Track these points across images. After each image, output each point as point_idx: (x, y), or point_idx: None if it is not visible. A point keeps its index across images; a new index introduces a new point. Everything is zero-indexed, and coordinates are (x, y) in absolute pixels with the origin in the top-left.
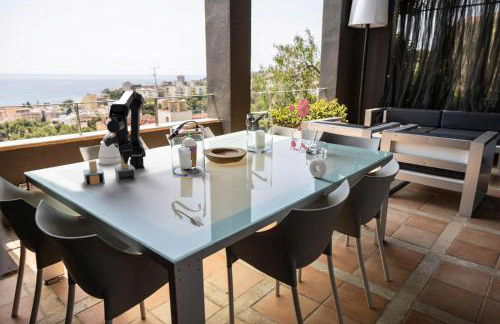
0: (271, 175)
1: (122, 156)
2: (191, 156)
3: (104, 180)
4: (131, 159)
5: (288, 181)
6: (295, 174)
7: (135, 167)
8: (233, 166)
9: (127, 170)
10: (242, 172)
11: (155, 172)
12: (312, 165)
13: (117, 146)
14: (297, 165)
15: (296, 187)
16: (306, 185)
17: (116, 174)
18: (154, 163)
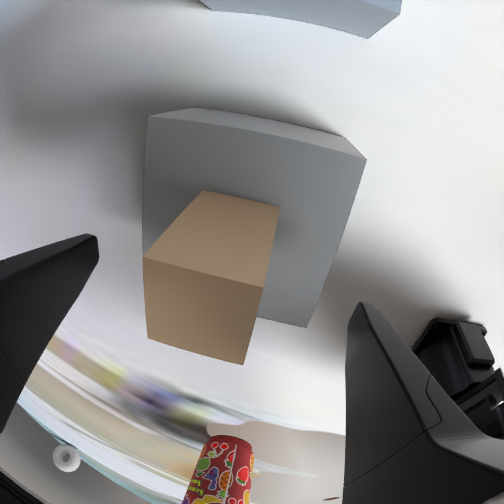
0: (93, 444)
1: (360, 343)
2: (189, 484)
3: (204, 2)
4: (468, 371)
5: (57, 427)
6: (93, 453)
7: (432, 340)
8: (188, 471)
9: (147, 219)
10: (128, 449)
11: (269, 372)
12: (68, 461)
13: (460, 493)
14: (144, 481)
15: (30, 408)
16: (39, 418)
17: (255, 121)
18: None
